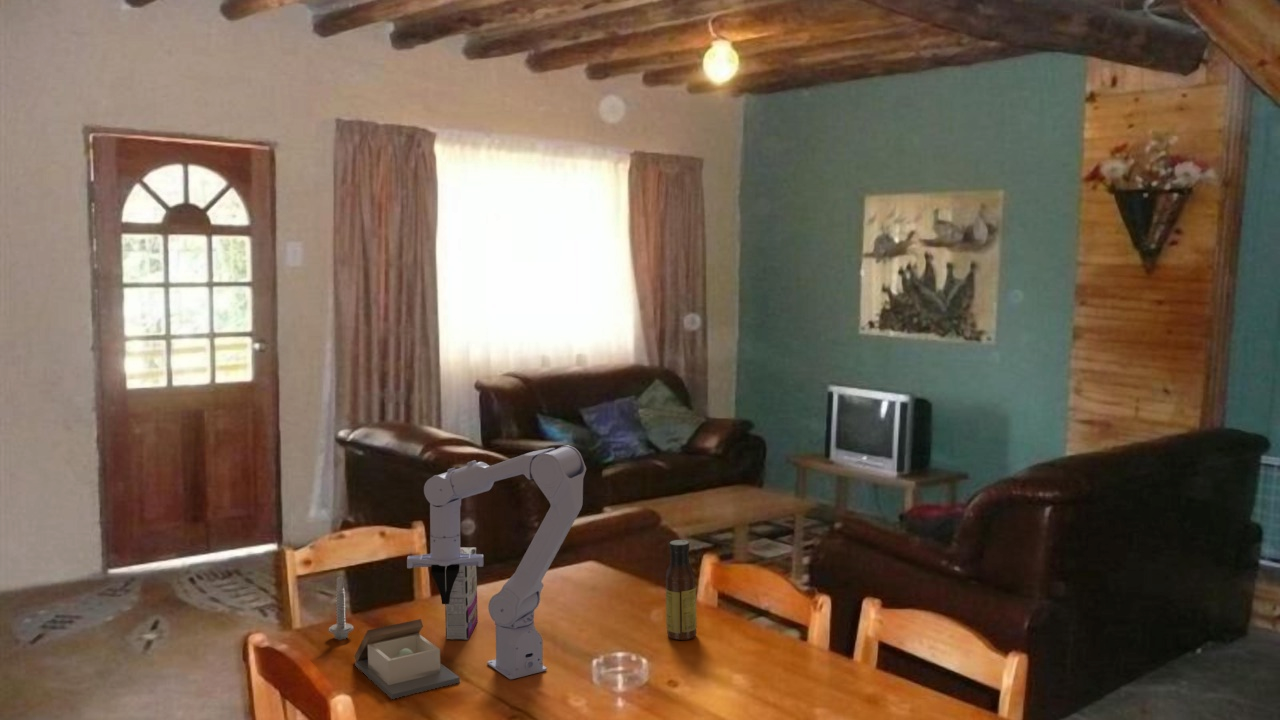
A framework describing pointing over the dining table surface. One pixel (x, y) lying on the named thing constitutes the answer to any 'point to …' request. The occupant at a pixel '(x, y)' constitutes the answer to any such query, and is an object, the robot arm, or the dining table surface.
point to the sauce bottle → (680, 593)
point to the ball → (404, 652)
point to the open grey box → (403, 658)
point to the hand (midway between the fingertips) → (445, 602)
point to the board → (410, 681)
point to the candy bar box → (462, 602)
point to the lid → (387, 635)
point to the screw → (340, 614)
